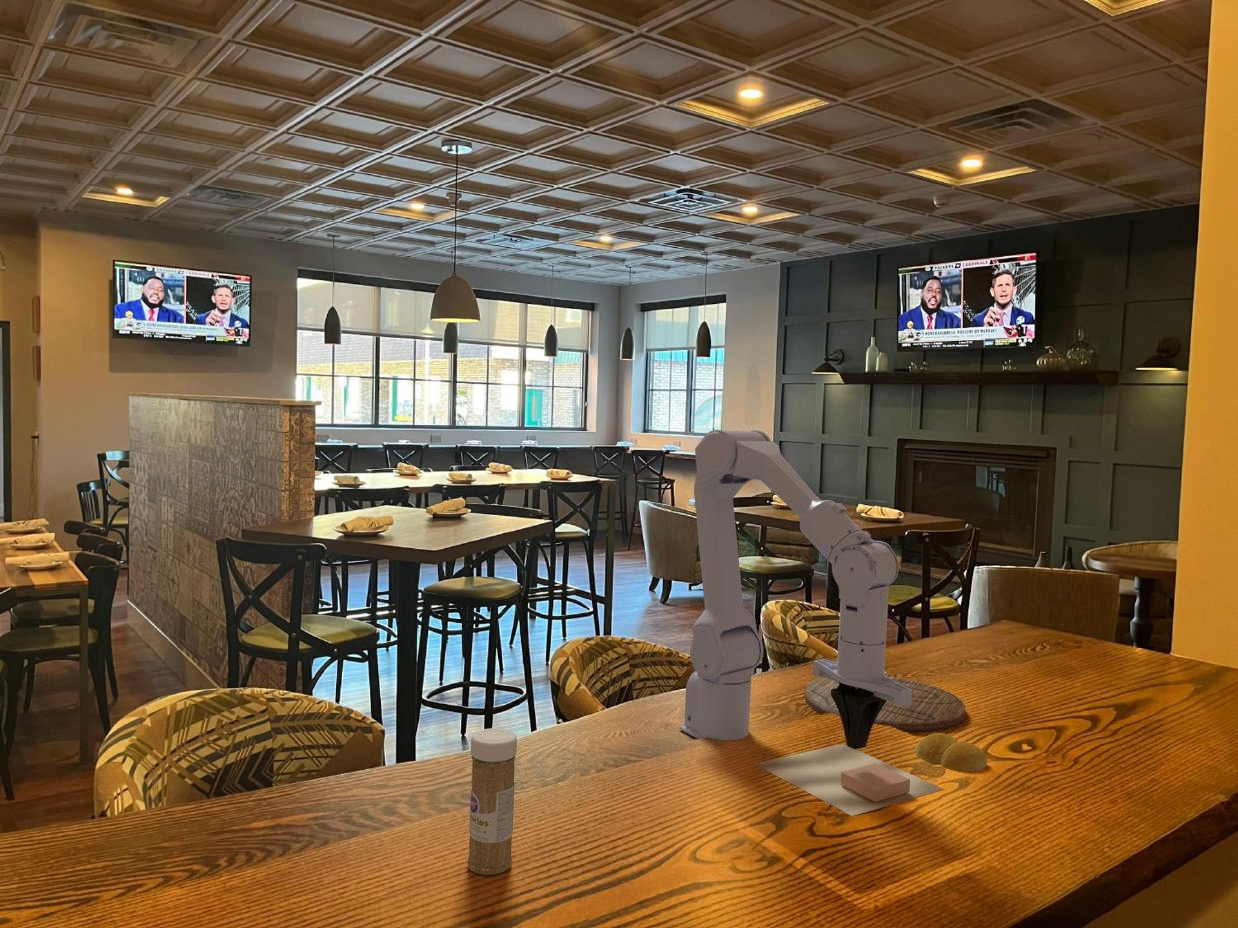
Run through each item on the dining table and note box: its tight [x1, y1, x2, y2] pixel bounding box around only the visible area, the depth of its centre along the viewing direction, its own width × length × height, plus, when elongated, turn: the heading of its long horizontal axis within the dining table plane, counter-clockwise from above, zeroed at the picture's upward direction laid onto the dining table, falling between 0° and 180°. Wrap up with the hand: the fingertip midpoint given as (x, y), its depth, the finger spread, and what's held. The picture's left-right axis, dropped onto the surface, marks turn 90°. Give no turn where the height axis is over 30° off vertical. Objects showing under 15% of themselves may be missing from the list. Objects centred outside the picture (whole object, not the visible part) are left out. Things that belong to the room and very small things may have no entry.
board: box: [754, 743, 945, 817], centre depth 114 cm, size 17×16×1 cm
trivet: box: [804, 675, 966, 733], centre depth 146 cm, size 25×25×2 cm
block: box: [841, 764, 910, 802], centre depth 110 cm, size 2×6×6 cm
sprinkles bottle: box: [467, 727, 518, 876], centre depth 90 cm, size 5×5×13 cm
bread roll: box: [914, 732, 988, 772], centre depth 122 cm, size 8×9×4 cm
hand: (856, 746), depth 112 cm, fingers closed
